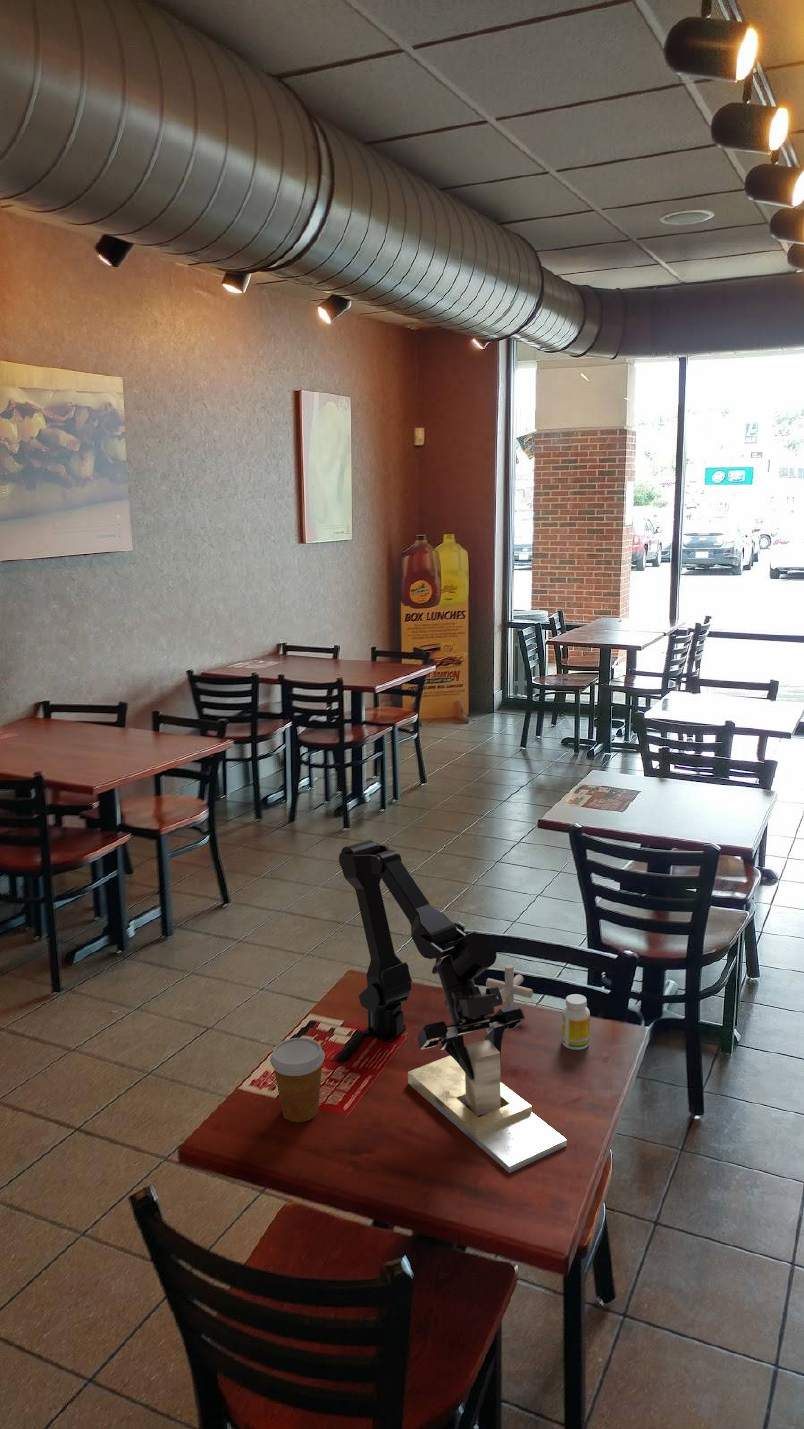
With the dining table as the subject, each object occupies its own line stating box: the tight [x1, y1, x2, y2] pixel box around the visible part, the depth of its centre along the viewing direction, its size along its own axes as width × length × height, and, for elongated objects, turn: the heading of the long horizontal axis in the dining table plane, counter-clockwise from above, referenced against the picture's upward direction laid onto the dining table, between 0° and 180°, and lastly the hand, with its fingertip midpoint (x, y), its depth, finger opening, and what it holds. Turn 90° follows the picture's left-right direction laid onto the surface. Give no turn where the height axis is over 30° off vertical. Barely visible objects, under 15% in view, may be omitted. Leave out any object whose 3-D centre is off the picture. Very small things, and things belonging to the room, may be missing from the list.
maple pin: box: [464, 1039, 501, 1117], centre depth 172 cm, size 5×5×11 cm
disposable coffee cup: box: [269, 1037, 326, 1123], centre depth 174 cm, size 10×10×12 cm
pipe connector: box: [485, 963, 534, 1008], centre depth 207 cm, size 10×10×10 cm
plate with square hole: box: [407, 1054, 568, 1174], centre depth 173 cm, size 30×12×2 cm, turn 32°
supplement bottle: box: [561, 993, 591, 1051], centre depth 194 cm, size 5×5×10 cm
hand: (485, 1076), depth 171 cm, fingers closed on maple pin, 5 cm apart
